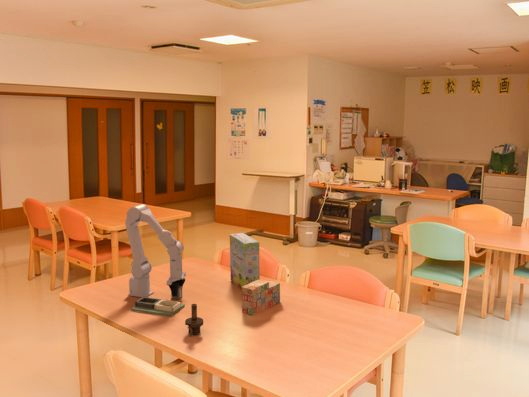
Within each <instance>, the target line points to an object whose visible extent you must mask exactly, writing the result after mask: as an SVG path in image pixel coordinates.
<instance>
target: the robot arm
mask: <svg viewBox="0 0 529 397" xmlns="http://www.w3.org/2000/svg"><path fill="white" fill-rule="evenodd" d="M125 214H126V218H125V224H124V225H125V229H126V234H127V237H128V242H129V245H130V250H131V255H132V262H131V270H130V271H131V276H130V277H129V280H128V288H129V289H128V291H129V292H128V296H131V297H140V298H143V297H148V296H150V295H152V294H154V293H155V292H154V291H152V290H151V288H150V286H151V282H150V281H151V280H150V272H151V271H152V264H151V263H150V261H149V259H148V257H146V256H145V252H144V247H143V242H142V239H141V235H140V229H139V223H141V222H142V223H147V225H148V226H150V228H152V230H153V231H154V232H155V233H156V235H158V236H157V239H158V240H159V241H160V242H161V243H162V245H163V246H164V247H165V248H166V250H167V254H168V256H169V277H168V279H167V280H166V285H167V286H168V287H169V289H170V291H171V292H172V296H175V297H176V296H177V292H178V286H182V288H183V286H184V284H185V281H186V278H185V277H186V276H187V275H186V272H185V271H183V253H182V252H183V251H184V247H185V246H184V245H183V242H182V241H179V240H178V239H176V238H175V237H174V236H173V235H172V231H169V230H167V229H164V228H163V227H162V225H161V224H160V223H159V221H158V220H157V219H156V217H155V216H154V214H153V212H152V211H151V209H150V208H149V207H148V206H147V205H146V204H144V203H140V204H138V205H136V206H132V207H130V208H129V209H128V210H127V211H126V212H125ZM171 292H170V293H171Z"/></svg>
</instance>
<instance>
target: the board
mask: <svg viewBox="0 0 529 397" xmlns="http://www.w3.org/2000/svg"><path fill="white" fill-rule="evenodd" d="M134 303H135V304H134V305H133V307H130V311H132V312H138V313H139V312H140V313H145V314H150V315H151V314H152V315H156V316H163V317H172V316H173V315H174V314H177V312H179V311H180V310H181V309H183V308H185V306H186V304H185V303H182V301H181V302H180V301H176V300H168V299H163V298H162V299H161V298H154V297H148V296H147V297H140V299H137V300H136V301H135V302H134Z"/></svg>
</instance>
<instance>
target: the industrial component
mask: <svg viewBox="0 0 529 397" xmlns="http://www.w3.org/2000/svg"><path fill="white" fill-rule="evenodd" d="M190 308H191V309H190V310H191V317H188V318H186V319H185V320H184V324H185V326H187V329H188V334H189V336H190V337H192V336H195V335H196V336H197V335H199V334H201V327H202V326H203V325H204V319H203V318H202V317H199V316H198V304H196V303H192V304H191V307H190Z"/></svg>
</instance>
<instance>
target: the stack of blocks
mask: <svg viewBox="0 0 529 397" xmlns="http://www.w3.org/2000/svg"><path fill="white" fill-rule="evenodd" d="M280 302H281V283H280V282H277V281H271V280H268V281H267V280H266V281H265V280H261V279H260V280H256V281H254V282H252V283H249V284H247V285H245V286H242V289H241V313H243V314H244V315H249V316H255V315H257V314H259V313H261V312H262V311H265V310H267V309H268V308H270V307H272V306H274V305H277V304H278V303H280Z"/></svg>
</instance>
